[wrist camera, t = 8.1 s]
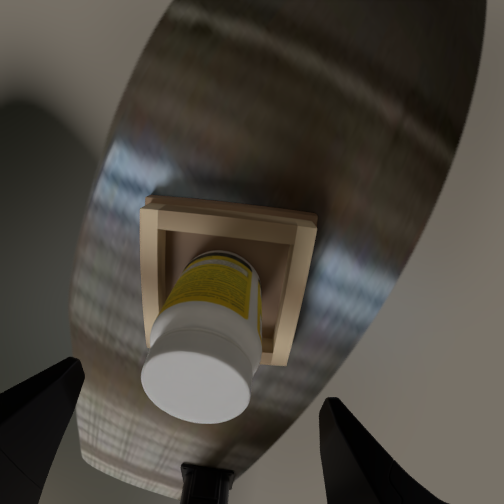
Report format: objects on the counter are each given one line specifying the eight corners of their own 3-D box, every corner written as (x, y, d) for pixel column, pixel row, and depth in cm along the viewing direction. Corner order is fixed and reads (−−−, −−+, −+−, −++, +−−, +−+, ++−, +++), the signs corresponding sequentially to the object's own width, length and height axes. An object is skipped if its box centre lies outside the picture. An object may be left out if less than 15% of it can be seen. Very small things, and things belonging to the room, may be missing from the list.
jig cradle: (287, 347, 19) (289, 369, 17) (153, 330, 19) (143, 350, 17) (315, 213, 16) (324, 223, 14) (150, 194, 16) (135, 202, 14)
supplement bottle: (167, 270, 17) (104, 362, 9) (235, 233, 16) (211, 317, 8) (210, 331, 18) (183, 437, 10) (275, 301, 17) (285, 411, 9)
